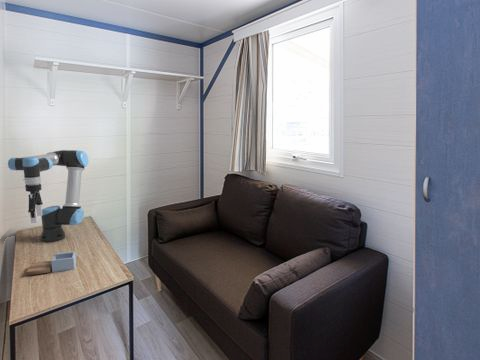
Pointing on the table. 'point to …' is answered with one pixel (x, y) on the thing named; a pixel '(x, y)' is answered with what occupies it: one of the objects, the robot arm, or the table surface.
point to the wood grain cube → (39, 268)
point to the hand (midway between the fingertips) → (37, 219)
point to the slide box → (63, 261)
